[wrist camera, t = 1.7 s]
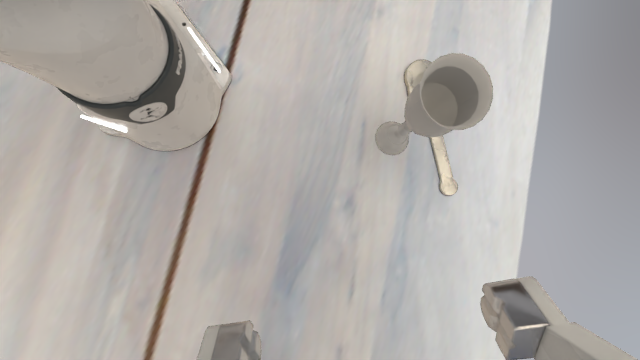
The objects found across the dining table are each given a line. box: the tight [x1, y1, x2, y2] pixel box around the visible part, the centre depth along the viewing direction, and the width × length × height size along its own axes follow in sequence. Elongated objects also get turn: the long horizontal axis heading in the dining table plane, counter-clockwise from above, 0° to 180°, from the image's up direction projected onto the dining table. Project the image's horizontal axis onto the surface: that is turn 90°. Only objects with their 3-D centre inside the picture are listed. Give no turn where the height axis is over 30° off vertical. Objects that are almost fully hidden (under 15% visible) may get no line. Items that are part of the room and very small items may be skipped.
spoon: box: [404, 60, 458, 196], centre depth 46 cm, size 21×5×1 cm, turn 12°
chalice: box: [376, 53, 493, 155], centre depth 36 cm, size 7×7×18 cm
